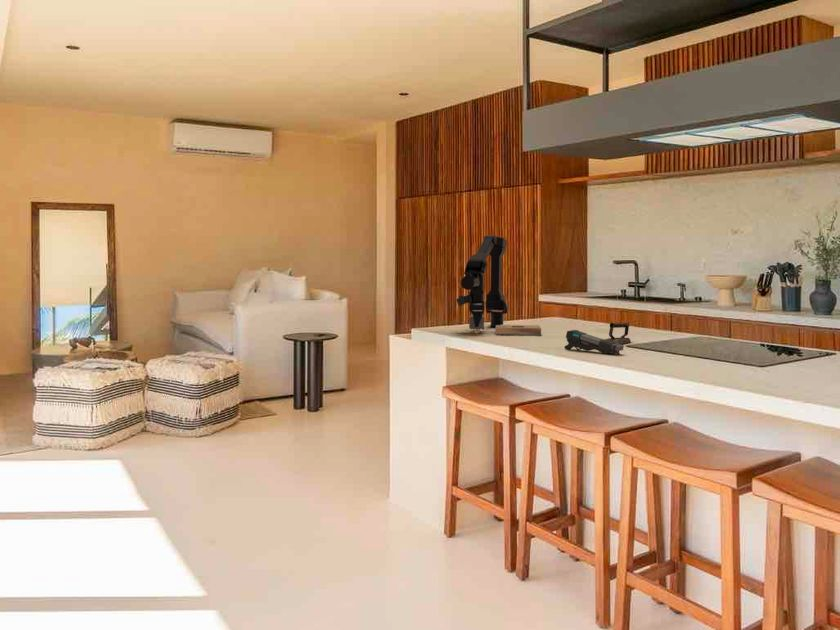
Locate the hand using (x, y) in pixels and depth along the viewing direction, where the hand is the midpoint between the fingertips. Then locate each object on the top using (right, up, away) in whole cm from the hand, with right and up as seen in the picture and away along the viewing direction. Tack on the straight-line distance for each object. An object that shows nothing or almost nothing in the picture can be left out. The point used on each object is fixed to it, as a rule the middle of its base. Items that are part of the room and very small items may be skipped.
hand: (476, 325), depth 303 cm
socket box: (+17, -3, -3) cm, 17 cm away
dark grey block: (0, -3, 0) cm, 3 cm away
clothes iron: (+51, -6, -31) cm, 60 cm away
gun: (+36, -9, -52) cm, 64 cm away
